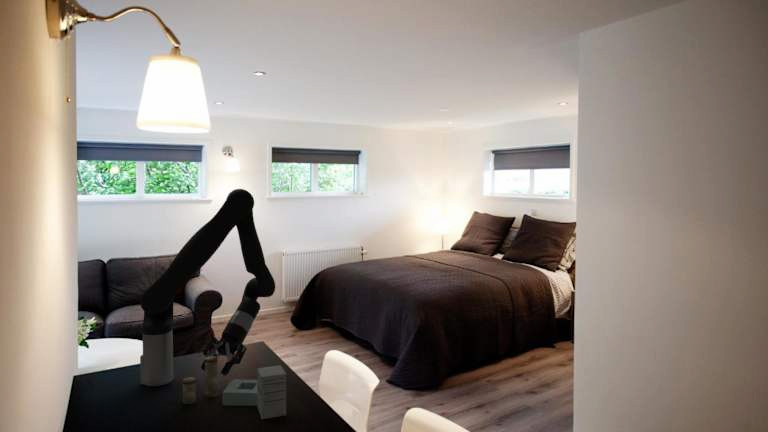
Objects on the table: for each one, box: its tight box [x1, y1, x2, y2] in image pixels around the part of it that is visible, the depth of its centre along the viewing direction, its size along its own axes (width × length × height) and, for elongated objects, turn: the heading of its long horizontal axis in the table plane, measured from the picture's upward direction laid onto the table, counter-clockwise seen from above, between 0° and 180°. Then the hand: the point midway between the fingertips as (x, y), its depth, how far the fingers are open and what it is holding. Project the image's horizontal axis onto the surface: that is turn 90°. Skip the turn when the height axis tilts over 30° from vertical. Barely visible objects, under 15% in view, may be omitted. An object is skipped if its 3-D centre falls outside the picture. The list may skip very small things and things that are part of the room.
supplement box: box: [256, 364, 287, 420], centre depth 142 cm, size 7×7×13 cm
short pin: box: [182, 376, 197, 405], centre depth 149 cm, size 4×4×7 cm
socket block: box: [222, 378, 257, 407], centre depth 151 cm, size 12×10×4 cm
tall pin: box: [204, 355, 219, 399], centre depth 153 cm, size 4×4×12 cm
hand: (213, 372), depth 154 cm, fingers open, 8 cm apart
